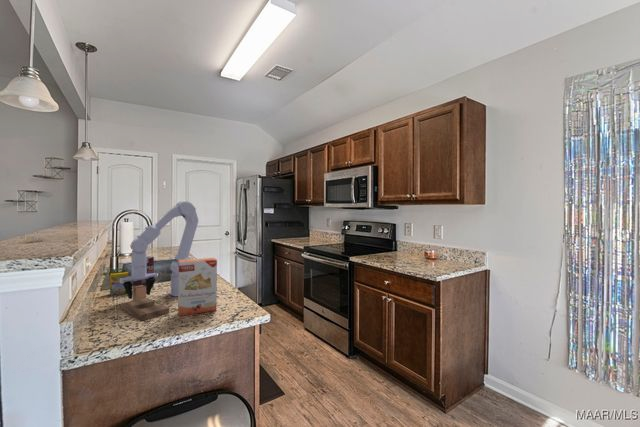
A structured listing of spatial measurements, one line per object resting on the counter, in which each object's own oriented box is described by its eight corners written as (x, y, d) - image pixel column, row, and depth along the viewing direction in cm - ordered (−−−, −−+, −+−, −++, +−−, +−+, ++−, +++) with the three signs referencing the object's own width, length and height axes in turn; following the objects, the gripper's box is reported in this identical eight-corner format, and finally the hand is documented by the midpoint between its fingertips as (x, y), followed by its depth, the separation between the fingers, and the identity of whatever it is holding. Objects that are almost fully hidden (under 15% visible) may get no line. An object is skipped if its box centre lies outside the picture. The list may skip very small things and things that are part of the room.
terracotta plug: (142, 298, 135) (142, 285, 135) (146, 299, 133) (146, 286, 133) (132, 300, 132) (132, 286, 132) (136, 302, 130) (136, 288, 130)
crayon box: (110, 295, 139) (109, 270, 139) (110, 293, 141) (109, 269, 141) (128, 292, 143) (128, 268, 143) (128, 291, 146) (128, 267, 145)
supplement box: (141, 292, 144) (141, 259, 144) (132, 291, 145) (132, 259, 145) (154, 287, 153) (154, 256, 152) (146, 286, 154) (146, 256, 153)
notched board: (147, 302, 130) (147, 297, 130) (169, 312, 117) (169, 307, 117) (121, 308, 122) (121, 303, 122) (141, 320, 109) (141, 315, 109)
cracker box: (178, 316, 113) (178, 262, 113) (178, 311, 119) (177, 259, 118) (217, 311, 120) (217, 259, 119) (214, 306, 125) (214, 256, 124)
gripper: (152, 262, 140) (152, 291, 141) (116, 267, 129) (117, 298, 129) (159, 264, 136) (159, 293, 136) (123, 269, 125) (123, 301, 125)
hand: (139, 296), depth 133 cm, fingers open, 7 cm apart
